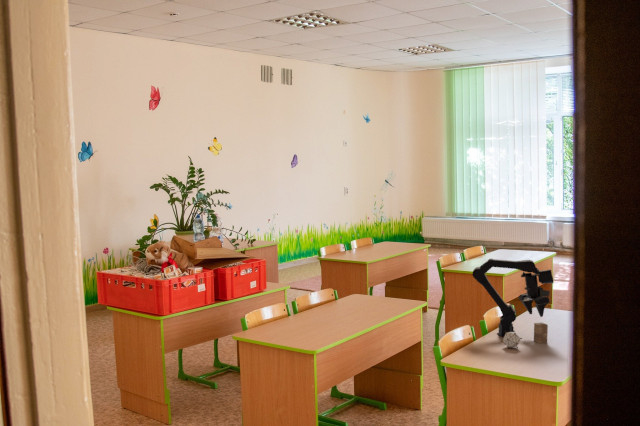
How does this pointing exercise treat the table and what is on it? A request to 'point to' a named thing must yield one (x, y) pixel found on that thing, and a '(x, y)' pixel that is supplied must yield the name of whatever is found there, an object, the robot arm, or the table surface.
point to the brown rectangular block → (540, 332)
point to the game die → (511, 339)
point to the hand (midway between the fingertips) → (536, 315)
